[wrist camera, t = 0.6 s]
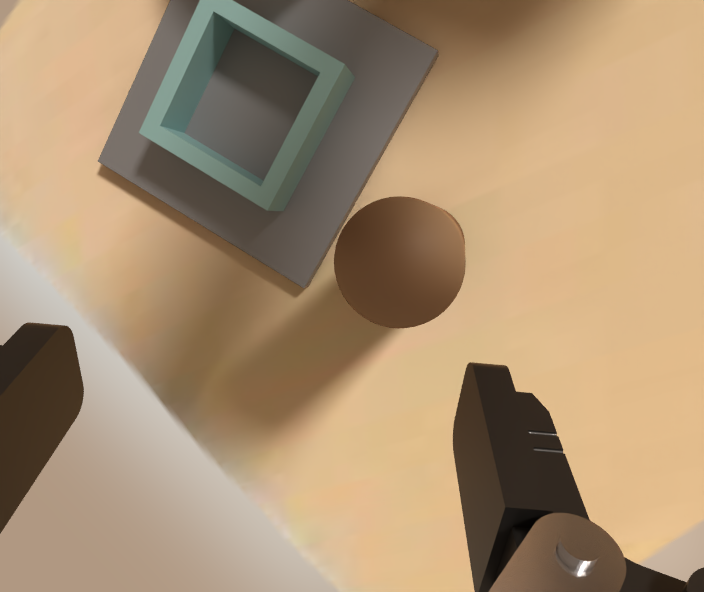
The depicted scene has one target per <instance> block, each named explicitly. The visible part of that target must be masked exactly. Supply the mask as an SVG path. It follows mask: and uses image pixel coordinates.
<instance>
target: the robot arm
mask: <svg viewBox="0 0 704 592" xmlns="http://www.w3.org/2000/svg"><path fill="white" fill-rule="evenodd" d="M83 390H84V388H83V382H82V377H81V372H80V367H79V362H78V357H77V352H76V346H75V342H74V337H73V333H72V331H71V329H70V328H69V327H68V326H62V325H51V324H40V323H26V324H24V325H23V326H21V327H20V328H19V330H17V332H16V333H15V334H14V335H13V336H12V337H11V338H10V339H9V340H8V341H7V342H6V343H5V344H4V345H3V346H2V345H0V533H1V532H2V530H3V529H4V527H5V525H6V524H7V523H8V521H9V519H10V518H11V516H12V515H13V513H14V512H15V510H16V509H17V507H18V506H19V504H20V503H21V501H22V499H23V498H24V497H25V495H26V494H27V492H28V491H29V489H30V487H31V486H32V485H33V483H34V482H35V480H36V478H37V477H38V475H39V474H40V472H41V470H42V469H43V468H44V466H45V465H46V463H47V462H48V460H49V458H50V457H51V456H52V454H53V453H54V451H55V449H56V448H57V447H58V445H59V443H60V442H61V440H62V439H63V437H64V436H65V434H66V432H67V431H68V430H69V428H70V426H71V425H72V424H73V422H74V421H75V419H76V418H77V415H78V414H79V412H80V409H81V405H82V401H83V394H84V393H83V392H84V391H83ZM556 434H557V432H556V429H555V426H554V424H553V421H552V418H551V416H550V413H549V411H548V410H547V409H546V408H545V407H544V406H543V405H542V404H541V403H540V401H539V400H538V399H537V398H536V397H535V396H534V395H533V394H532V393H524V392H516V391H515V387H514V384H513V381H512V378H511V375H510V372H509V369H508V367H507V366H504V365H493V364H482V363H469V364H468V365H467V368H466V371H465V375H464V380H463V384H462V389H461V393H460V398H459V402H458V407H457V411H456V416H455V420H454V428H453V451H454V458H455V464H456V471H457V477H458V484H459V491H460V497H461V504H462V511H463V517H464V524H465V530H466V537H467V544H468V550H469V557H470V563H471V570H472V577H473V583H474V590H475V592H704V568H701V569H698V570H697V571H695V572H694V573H693V574H692V575H691V577H690V578H689V580H688V582H684V581H681V580H678V579H676V578H673V577H670V576H668V575H665V574H662V573H660V572H657V571H654V570H651V569H649V568H646V567H643V566H641V565H639V564H636V563H634V562H632V561H630V560H628V559H627V558H625V557H624V556H623V553H622V551H621V550H620V548H619V546H618V545H617V543H616V542H615V541H614V539H613V538H612V537H611V536H610V535H609V534H608V533H607V532H606V531H604V530H603V529H602V528H601V527H599V526H598V525H596V524H595V523H593V522H591V521H590V520H589V517H588V515H587V512H586V509H585V507H584V504H583V501H582V499H581V496H580V493H579V491H578V488H577V485H576V483H575V480H574V477H573V475H572V472H571V469H570V467H569V464H568V461H567V459H566V456H565V454H563V448H562V445H561V442H560V440H559V437H558V436H557V435H556Z"/></svg>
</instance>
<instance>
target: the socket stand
mask: <svg viewBox="0 0 704 592" xmlns="http://www.w3.org/2000/svg"><path fill="white" fill-rule="evenodd" d="M437 57H438V50H436V49H434V48H433V47H431V46H429V45H427V44H425V43H424V42H422V41H420V40H418V39H416V38H415V37H413V36H411V35H409V34H407V33H406V32H404V31H402V30H400V29H398V28H397V27H395V26H393V25H391V24H389V23H388V22H386V21H384V20H382V19H380V18H379V17H377V16H375V15H373V14H371V13H370V12H368V11H366V10H364V9H362V8H361V7H359V6H357V5H355V4H353V3H352V2H350V1H348V0H170V2H169V4H168V6H167V9H166V11H165V13H164V15H163V18H162V20H161V22H160V24H159V26H158V29H157V31H156V33H155V35H154V38H153V40H152V42H151V44H150V46H149V49H148V51H147V53H146V55H145V58H144V60H143V62H142V64H141V66H140V69H139V71H138V73H137V75H136V78H135V80H134V82H133V84H132V86H131V89H130V91H129V93H128V95H127V98H126V100H125V102H124V104H123V106H122V109H121V111H120V113H119V115H118V117H117V120H116V122H115V124H114V126H113V129H112V131H111V133H110V135H109V137H108V140H107V142H106V144H105V146H104V149H103V151H102V153H101V155H100V157H99V160H98V162H100V163H101V164H103V165H105V166H106V167H108V168H109V169H111V170H113V171H114V172H116V173H117V174H119V175H121V176H122V177H124V178H126V179H127V180H129V181H130V182H132V183H134V184H135V185H137V186H139V187H140V188H142V189H143V190H145V191H147V192H148V193H150V194H152V195H153V196H155V197H156V198H158V199H160V200H161V201H163V202H165V203H166V204H168V205H169V206H171V207H173V208H174V209H176V210H178V211H179V212H181V213H182V214H184V215H186V216H187V217H189V218H191V219H192V220H194V221H195V222H197V223H199V224H200V225H202V226H204V227H205V228H207V229H208V230H210V231H212V232H213V233H215V234H216V235H218V236H220V237H221V238H223V239H225V240H226V241H228V242H229V243H231V244H233V245H234V246H236V247H238V248H239V249H241V250H242V251H244V252H246V253H247V254H249V255H251V256H252V257H254V258H255V259H257V260H259V261H260V262H262V263H264V264H265V265H267V266H268V267H270V268H272V269H273V270H275V271H277V272H278V273H280V274H281V275H283V276H285V277H286V278H288V279H290V280H291V281H293V282H294V283H296V284H298V285H299V286H301V287H302V288H306V287H308V286H309V284H310V282H311V281H312V279H313V277H314V275H315V273H316V272H317V270H318V268H319V266H320V265H321V263H322V261H323V259H324V257H325V256H326V254H327V252H328V250H329V249H330V247H331V245H332V243H333V241H334V240H335V238H336V236H337V234H338V233H339V231H340V229H341V227H342V226H343V224H344V222H345V220H346V218H347V217H348V215H349V213H350V211H351V210H352V208H353V206H354V204H355V202H356V201H357V199H358V197H359V195H360V194H361V192H362V190H363V188H364V186H365V185H366V183H367V181H368V179H369V178H370V176H371V174H372V172H373V171H374V169H375V167H376V165H377V163H378V162H379V160H380V158H381V156H382V155H383V153H384V151H385V149H386V147H387V146H388V144H389V142H390V140H391V139H392V137H393V135H394V133H395V131H396V130H397V128H398V126H399V124H400V123H401V121H402V119H403V117H404V116H405V114H406V112H407V110H408V108H409V107H410V105H411V103H412V101H413V100H414V98H415V96H416V94H417V92H418V91H419V89H420V87H421V85H422V84H423V82H424V80H425V78H426V76H427V75H428V73H429V71H430V69H431V68H432V66H433V64H434V62H435V61H436V59H437Z"/></svg>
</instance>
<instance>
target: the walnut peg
mask: <svg viewBox="0 0 704 592" xmlns="http://www.w3.org/2000/svg"><path fill="white" fill-rule="evenodd" d="M334 269H335V275H336V280H337V283H338V286H339V288H340V290H341V292H342V294H343V296H344V298H345V299H346V301H347V302H348V303H349V304H350V306H351V307H352V308H353V309H354V310H355V311H356V312H358V313H359V314H360V315H361V316H363V317H364V318H366V319H368V320H369V321H371V322H373V323H376V324H379V325H382V326H386V327H391V328H409V327H415V326H418V325H421V324H424V323H426V322H429V321H431V320H432V319H434V318H436V317H437V316H439V315H440V314H441V313H442V312H444V311H445V310H446V309H447V308H448V307H449V305H450V304H451V303H452V302H453V300H454V299H455V297H456V296H457V294H458V292H459V290H460V287H461V285H462V282H463V278H464V274H465V240H464V235H463V232H462V229H461V227H460V225H459V224H458V222H457V221H456V220H455V218H454V217H453V216H452V215H451V214H449V213H448V212H447V211H445V210H443V209H441V208H439V207H437V206H434V205H432V204H429V203H427V202H425V201H422V200H419V199H415V198H410V197H389V198H384V199H380V200H378V201H375V202H372V203H370V204H369V205H367V206H365V207H364V208H362V209H361V210H359V211H358V212H357V213H356V214H355V215H354V216H353V217H352V218H351V219H350V220H349V221H348V222H347V224H346V225H345V227H344V228H343V230H342V232H341V234H340V236H339V239H338V242H337V245H336V249H335V255H334Z"/></svg>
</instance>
